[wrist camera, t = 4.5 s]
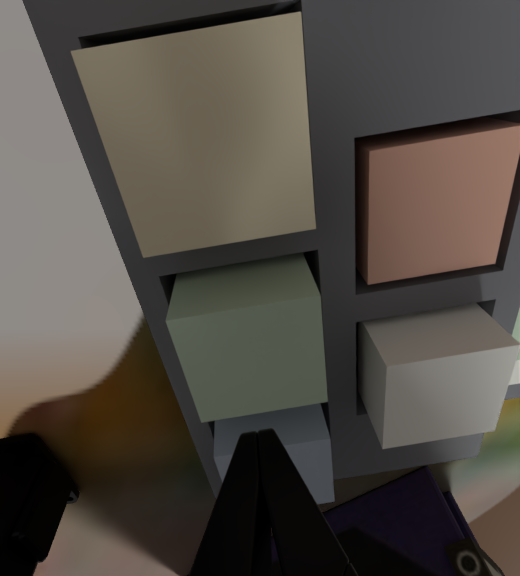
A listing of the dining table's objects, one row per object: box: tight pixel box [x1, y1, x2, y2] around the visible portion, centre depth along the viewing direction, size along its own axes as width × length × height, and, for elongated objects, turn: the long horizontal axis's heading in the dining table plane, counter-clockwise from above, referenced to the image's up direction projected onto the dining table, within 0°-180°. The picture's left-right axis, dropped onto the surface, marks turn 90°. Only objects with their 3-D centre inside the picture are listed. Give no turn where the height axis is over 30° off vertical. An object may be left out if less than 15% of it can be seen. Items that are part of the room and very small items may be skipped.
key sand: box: [71, 12, 316, 258], centre depth 9 cm, size 4×4×3 cm
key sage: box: [166, 252, 328, 423], centre depth 13 cm, size 4×4×3 cm
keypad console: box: [23, 0, 520, 499], centre depth 15 cm, size 19×21×4 cm
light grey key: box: [358, 303, 520, 449], centre depth 14 cm, size 4×4×3 cm
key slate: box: [214, 403, 335, 504], centre depth 16 cm, size 4×4×3 cm
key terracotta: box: [354, 116, 520, 285], centre depth 12 cm, size 4×4×3 cm
